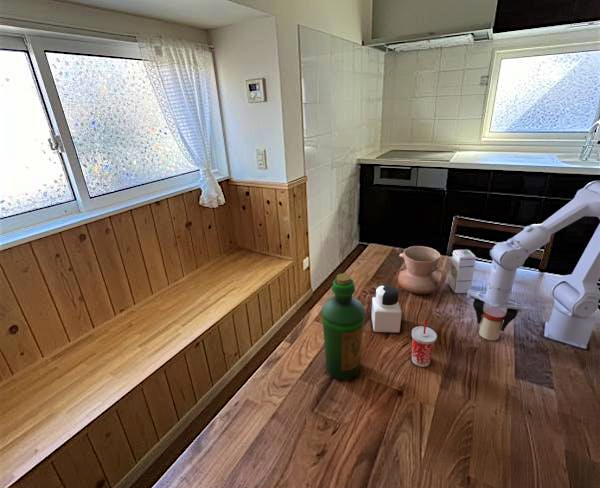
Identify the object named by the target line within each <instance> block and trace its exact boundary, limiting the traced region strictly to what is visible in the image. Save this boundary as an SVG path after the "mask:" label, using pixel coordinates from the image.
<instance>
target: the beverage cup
mask: <svg viewBox="0 0 600 488" xmlns="http://www.w3.org/2000/svg"><path fill="white" fill-rule="evenodd" d="M427 320H428V317H427V316H426V317H424V324H423V326H421V325H419V326H415V327H414V328H412V330H411V338H412V341H411V342H412V343H411V361H412V363H413V364H414V365H415V366H417V367H421V368H426V367H429V365H430V364H431V359H432V355H433V350H434V346H435V342H436V341H437V338H438V336H437V333H436V332H435V330H433V329H432V328H430V327H427V324H428V321H427Z"/></svg>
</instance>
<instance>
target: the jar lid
mask: <svg viewBox="0 0 600 488" xmlns="http://www.w3.org/2000/svg"><path fill="white" fill-rule="evenodd" d="M482 315H483V316H484V317H485V318H486V319H488V320H491V321H495V322H500V321H504V319H505V315H506V311H505V309H504V308H502V307H499V308H494V307H491V306H490V304H487V305H484V307H483V309H482Z"/></svg>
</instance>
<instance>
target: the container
mask: <svg viewBox="0 0 600 488" xmlns="http://www.w3.org/2000/svg"><path fill="white" fill-rule="evenodd" d="M399 293H400V291H399V290H398V288H397V287H395V286H393V285H390V284H383V285H380V286H378V287H377V288H376V289H375V296H373V297H372V298H371V323H372V330H373V332H374V333H398V334H399V333H400V331H401V323H402V312H403V311H402V309H401V305H400V302H399Z"/></svg>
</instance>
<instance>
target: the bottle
mask: <svg viewBox="0 0 600 488" xmlns="http://www.w3.org/2000/svg"><path fill="white" fill-rule="evenodd" d="M335 277H336V278H335V279H334V280H333V282H332V285H331V292H332V294H334V295H333V296H330V297H328V299H327V300H326V301H325V302H324V304H323V306H322V307H321V319H322V328H323V339H324V350H325V363H326V369H327V372H328V374H330V376H332V378H335V379H338V380H342V381H345V380H351V379H353V378H355V377H356V376H357V375H358V373H359V370H360V368H361V367H360V365H361V356H362V349H363V339H364V331H365V330H364V329H365V321H366V308H365V306H364V304H363V303H362V302H361V300H359V299H358V298H356V297H355V296H353V295H354V294H355V292H356V287H355V282H354V281H353V279H352V277H351V275H350V274H348V273H339V274H338V273H337V275H336V276H335Z"/></svg>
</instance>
